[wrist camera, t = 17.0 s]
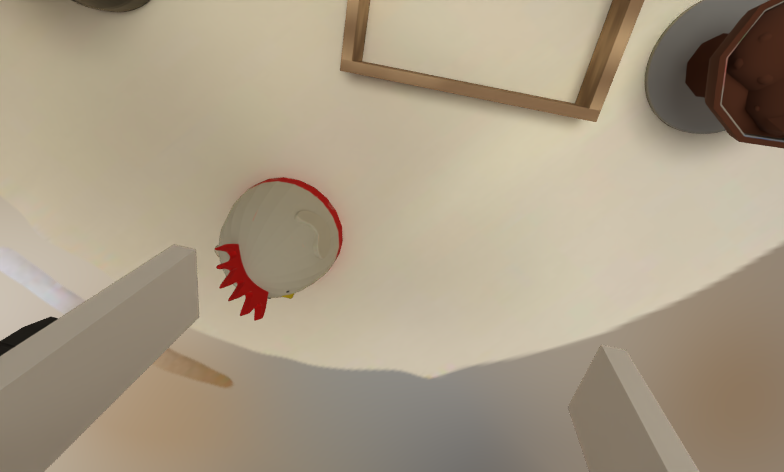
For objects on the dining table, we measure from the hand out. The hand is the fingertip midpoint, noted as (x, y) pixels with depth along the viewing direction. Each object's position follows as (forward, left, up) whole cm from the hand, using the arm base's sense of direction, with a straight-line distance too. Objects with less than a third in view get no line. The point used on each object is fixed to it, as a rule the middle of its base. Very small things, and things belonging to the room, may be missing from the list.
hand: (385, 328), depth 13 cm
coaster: (-1, +27, -33) cm, 42 cm away
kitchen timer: (+7, -20, -33) cm, 39 cm away
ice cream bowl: (-1, +27, -32) cm, 42 cm away
